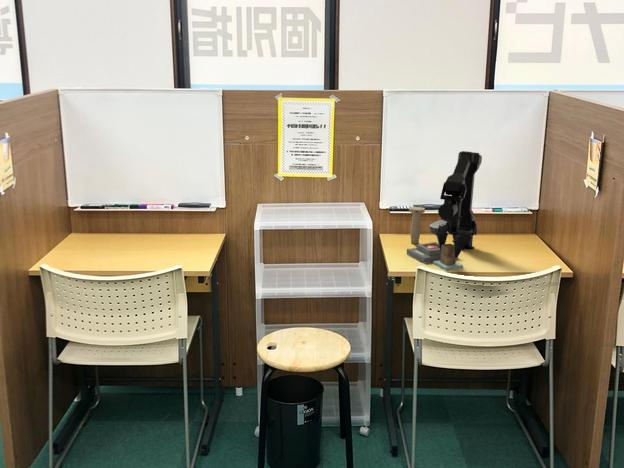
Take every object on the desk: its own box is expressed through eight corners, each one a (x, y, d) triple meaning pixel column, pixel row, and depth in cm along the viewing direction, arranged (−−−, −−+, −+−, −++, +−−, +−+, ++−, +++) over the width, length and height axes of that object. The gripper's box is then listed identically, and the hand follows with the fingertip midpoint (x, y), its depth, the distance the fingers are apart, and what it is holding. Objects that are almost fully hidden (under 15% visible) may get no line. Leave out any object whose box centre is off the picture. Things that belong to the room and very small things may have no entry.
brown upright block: (449, 261, 258) (450, 243, 256) (455, 264, 254) (456, 246, 252) (440, 262, 256) (441, 244, 254) (446, 265, 253) (448, 247, 251)
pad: (450, 261, 261) (450, 258, 260) (462, 267, 254) (463, 265, 253) (432, 263, 257) (433, 261, 257) (445, 270, 251) (445, 267, 250)
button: (433, 253, 269) (434, 244, 268) (439, 256, 265) (440, 248, 264) (424, 254, 267) (424, 246, 266) (430, 258, 264) (431, 249, 263)
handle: (422, 245, 280) (425, 210, 275) (407, 244, 280) (409, 209, 276) (422, 241, 284) (424, 207, 280) (406, 241, 285) (409, 206, 281)
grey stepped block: (439, 249, 275) (440, 240, 274) (457, 258, 264) (458, 248, 263) (406, 253, 268) (407, 244, 267) (423, 263, 258) (424, 253, 257)
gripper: (419, 209, 254) (417, 248, 259) (449, 221, 238) (445, 263, 243) (444, 206, 259) (441, 245, 263) (474, 218, 243) (470, 260, 247)
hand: (448, 253), depth 254 cm, fingers open, 9 cm apart
